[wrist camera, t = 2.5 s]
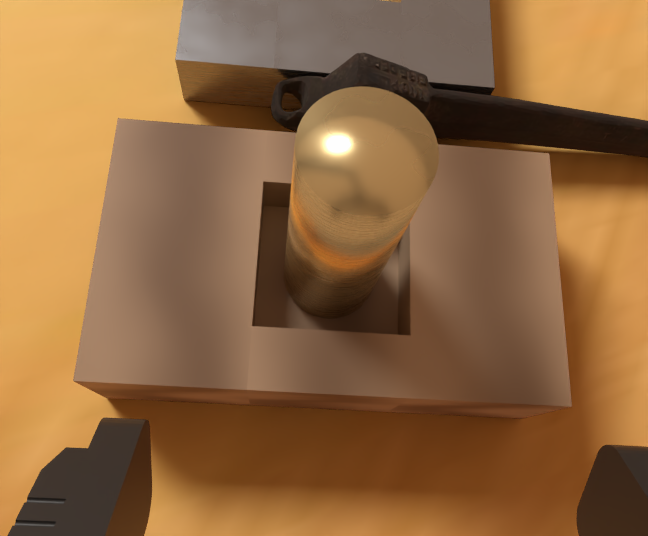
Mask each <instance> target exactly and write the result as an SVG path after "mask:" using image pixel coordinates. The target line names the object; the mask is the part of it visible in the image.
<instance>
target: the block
mask: <svg viewBox="0 0 648 536" xmlns="http://www.w3.org/2000/svg"><path fill="white" fill-rule="evenodd" d="M356 53H367V54H370V55H373V56H375V57H378V58H381V59H384V60H387V61H390V62H393V63H396V64H399V65H401V66H404V67H406V68H408V69H410V70H413V71H417V72H419V73H422V74H425V75H426V76H427V78H428V82H429V84H430V86H431V87H433V88H434V89H441V90H450V91H459V92H467V93H474V94H482V95H491V93H492V92H493V90H494V88H495V83H494V67H493V50H492V33H491V16H490V0H389V1H381V0H184V2H183V9H182V16H181V23H180V30H179V37H178V45H177V52H176V59H175V60H176V65H177V69H178V74H179V79H180V83H181V88H182V92H183V97H184V100H190V101H202V102H214V103H226V104H238V105H250V106H261V107H271V105H272V96H273V93H274V90H275V87H276V85H277V84H278V82H280V81H282V80H285V79H290V78H295V77H302V76H320V77H326V76H328V75H329V74H330V73H331V72H333V71H334V70H335V69H337V68H338V67H339V66H341V65H342V64H343V63H344V62H346V61H347V60H348V59H349V58H351V57H352V56H353V55H355V54H356ZM281 106H282V108H285V109H297V110H299V109H301V108H302V106H301V103H300V101H299V100H298V99H297V98H296V97H295V96H294V95H293V94H290V93H285V94H284V95H283V98H282V103H281Z"/></svg>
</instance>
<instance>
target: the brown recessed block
mask: <svg viewBox="0 0 648 536" xmlns="http://www.w3.org/2000/svg"><path fill="white" fill-rule="evenodd" d="M295 137H296V133H293V132H280V131H268V130H256V129H243V128H231V127H219V126H206V125H194V124H182V123H169V122H157V121H145V120H132V119H120V118H118V121H117V127H116V133H115V139H114V145H113V150H112V156H111V162H110V168H109V174H108V180H107V186H106V192H105V197H104V203H103V209H102V215H101V221H100V227H99V233H98V239H97V244H96V250H95V256H94V262H93V268H92V274H91V280H90V285H89V291H88V297H87V303H86V309H85V315H84V321H83V327H82V332H81V338H80V344H79V350H78V356H77V362H76V368H75V373H74V379H73V381H74V382H76V383H78V384H80V385H82V386H84V387H86V388H88V389H90V390H92V391H94V392H96V393H98V394H100V395H102V396H104V397H106V398H118V399H138V400H158V401H178V402H198V403H218V404H238V405H258V406H278V407H298V408H319V409H339V410H359V411H379V412H399V413H419V414H439V415H459V416H479V417H499V418H519V419H522V418H527V417H531V416H535V415H539V414H543V413H548V412H552V411H556V410H560V409H564V408H568V407H572V401H571V390H570V379H569V368H568V357H567V346H566V334H565V323H564V312H563V301H562V290H561V279H560V268H559V256H558V245H557V234H556V223H555V212H554V201H553V190H552V178H551V167H550V156H549V153H539V152H527V151H515V150H502V149H490V148H478V147H465V146H453V145H441V144H438V148H439V164H438V169H437V172H436V175H435V178H434V180H433V182H432V184H431V186H430V187H429V189H428V191H427V193H426V195H425V196H424V198H423V200H422V202H421V203H420V205H419V207H418V209H417V211H416V212H415V214H414V216H413V218H412V220H411V221H410V223H409V225H408V227H407V229H406V230H405V232H404V234H403V236H402V237H401V239H400V241H399V243H398V245H397V246H396V248H395V250H394V252H393V254H392V255H391V257H390V259H389V261H388V263H387V264H386V266H385V268H384V270H383V271H382V273H381V275H380V277H379V279H378V280H377V282H376V284H375V286H374V288H373V289H372V291H371V293H370V295H369V297H368V298H367V300H366V301H365V302H364V304H363V305H362V306H361V307H360V308H358V309H357V310H356V311H354V312H353V313H351V314H349V315H346V316H344V317H340V318H320V317H316V316H313V315H311V314H309V313H307V312H305V311H304V310H302V309H301V308H300V307H299V306H297V305H296V304H295V302H294V301H293V300H292V299H291V297H290V295H289V294H288V291H287V289H286V286H285V282H284V264H285V252H286V240H287V228H288V216H289V205H290V193H291V181H292V169H293V157H294V146H295Z"/></svg>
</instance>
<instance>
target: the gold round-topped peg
mask: <svg viewBox="0 0 648 536" xmlns="http://www.w3.org/2000/svg"><path fill="white" fill-rule="evenodd" d="M438 164H439V148H438V143H437V139H436V136H435V133H434V131H433V129H432V127H431V125H430V123H429V121H428V120H427V119H426V117H425V116H424V115H423V114H422V113H421V112H420V110H419V109H418V108H416V107H415V106H414V105H413V104H412V103H410V102H409V101H407V100H406V99H404V98H403V97H401V96H399V95H397V94H395V93H392V92H390V91H387V90H383V89H380V88H374V87H361V86H359V87H349V88H344V89H340V90H337V91H334V92H332V93H330V94H328V95H326V96H324V97H322V98H321V99H319V100H318V101H317V102H316V103H314V104H313V105H312V106H311V107H310V108H309V109H308V111H307V112H306V113H305V115H304V116H303V118H302V119H301V122H300V124H299V126H298V129H297V132H296V137H295V146H294V157H293V169H292V181H291V193H290V205H289V216H288V228H287V240H286V252H285V264H284V282H285V286H286V289H287V291H288V294H289V295H290V297H291V299H292V300H293V301H294V302H295V304H296V305H297V306H299V307H300V308H301V309H302V310H304V311H305V312H307V313H309V314H311V315H313V316H316V317H320V318H340V317H344V316H346V315H349V314H351V313H353V312H354V311H356V310H357V309H358V308H360V307H361V306H362V305H363V304H364V302H365V301H366V300H367V298H368V297H369V295H370V293H371V291H372V289H373V288H374V286H375V284H376V282H377V280H378V279H379V277H380V275H381V273H382V271H383V270H384V268H385V266H386V264H387V263H388V261H389V259H390V257H391V255H392V254H393V252H394V250H395V248H396V246H397V245H398V243H399V241H400V239H401V237H402V236H403V234H404V232H405V230H406V229H407V227H408V225H409V223H410V221H411V220H412V218H413V216H414V214H415V212H416V211H417V209H418V207H419V205H420V203H421V202H422V200H423V198H424V196H425V195H426V193H427V191H428V189H429V187H430V186H431V184H432V182H433V180H434V178H435V175H436V172H437V169H438Z"/></svg>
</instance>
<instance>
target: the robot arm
mask: <svg viewBox="0 0 648 536" xmlns="http://www.w3.org/2000/svg"><path fill="white" fill-rule="evenodd" d="M151 497H152V470H151V444H150V425H149V421H148V420H141V419H122V418H103V419H102V420H101V421H100V423H99V425H98V427H97V430H96V432H95V434H94V436H93V439H92V441H91V443H90V446H89V448H88V449H87V448H65V449H64V450H63V451H62V452H61V453H60V454H58V455H57V456H56V457H55V458H54V459H53V460H52V461H51V462H50V463H48V464H47V465H46V466H45V467H44V468H43V469H42V470H41V472H40V474H39V476H38V477H37V479H36V481H35V483H34V485H33V487H32V489H31V491H30V493H29V495H28V497H27V502H26V503H24V505H23V507H22V509H21V511H20V513H19V514H18V516H17V518H16V523H15V526H12V528H11V530H10V532H9V534H8V536H144V534H145V530H146V527H147V523H148V518H149V513H150V506H151ZM577 528H578V533H579V536H648V447H642V446H622V445H605V446H603V447H602V448H601V449H600V450H599V452H598V454H597V457H596V459H595V462H594V465H593V467H592V470H591V473H590V475H589V478H588V481H587V483H586V486H585V489H584V491H583V494H582V497H581V499H580V502H579V505H578V509H577Z"/></svg>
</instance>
